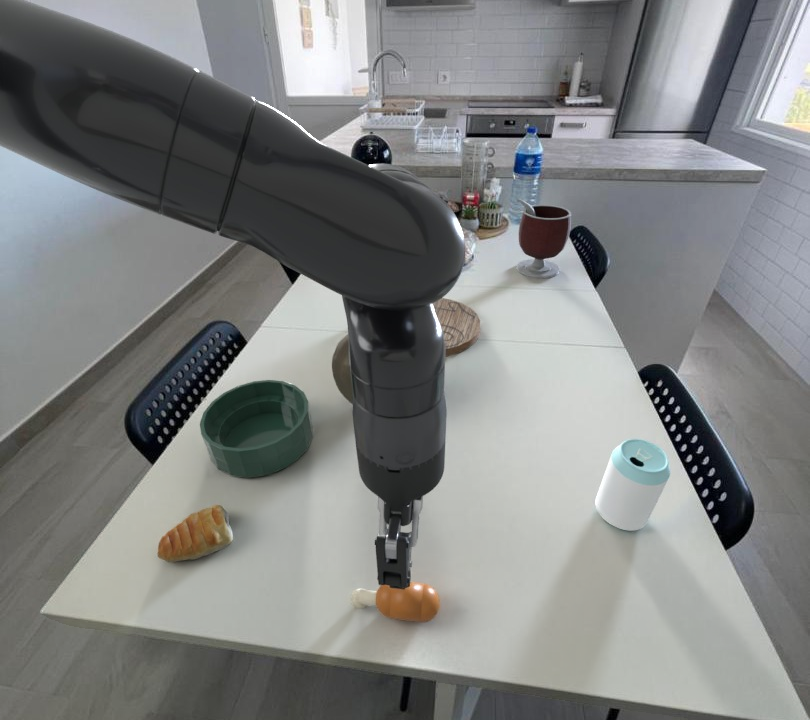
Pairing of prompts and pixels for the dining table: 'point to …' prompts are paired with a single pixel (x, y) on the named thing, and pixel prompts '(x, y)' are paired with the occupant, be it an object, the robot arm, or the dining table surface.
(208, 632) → the dining table surface
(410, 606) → the drumstick
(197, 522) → the pastry
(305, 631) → the dining table surface
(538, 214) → the mate gourd
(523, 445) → the dining table surface
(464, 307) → the trivet
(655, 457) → the can
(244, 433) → the green faceted bowl
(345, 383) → the grey clay lump
